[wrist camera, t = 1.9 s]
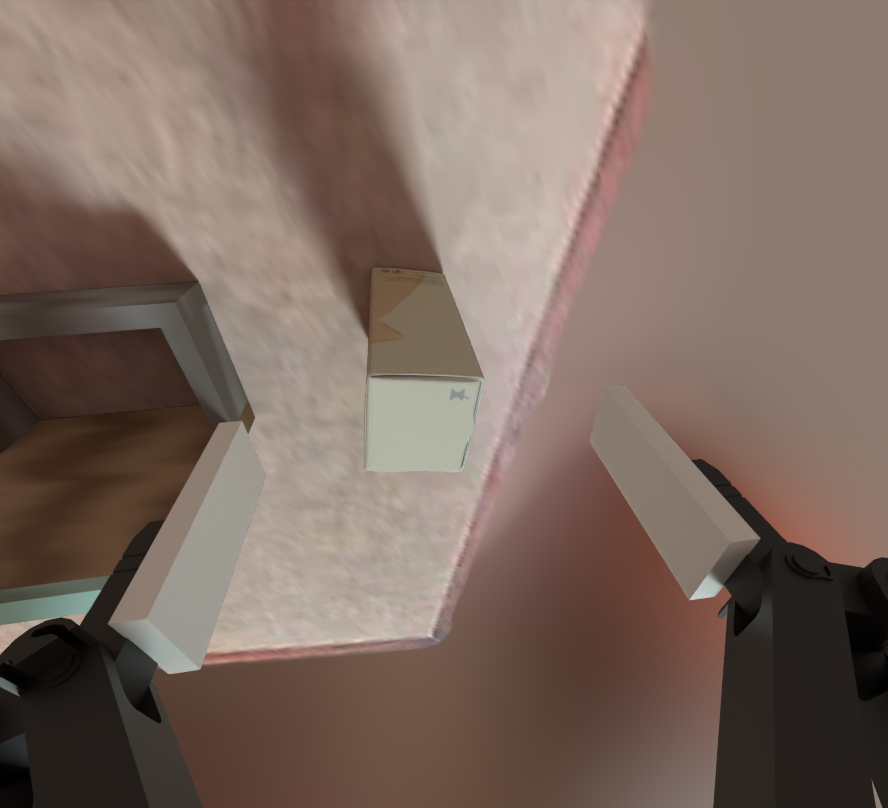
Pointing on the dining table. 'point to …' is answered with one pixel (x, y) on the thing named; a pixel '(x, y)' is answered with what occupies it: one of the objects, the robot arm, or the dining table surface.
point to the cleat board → (101, 447)
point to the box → (418, 376)
